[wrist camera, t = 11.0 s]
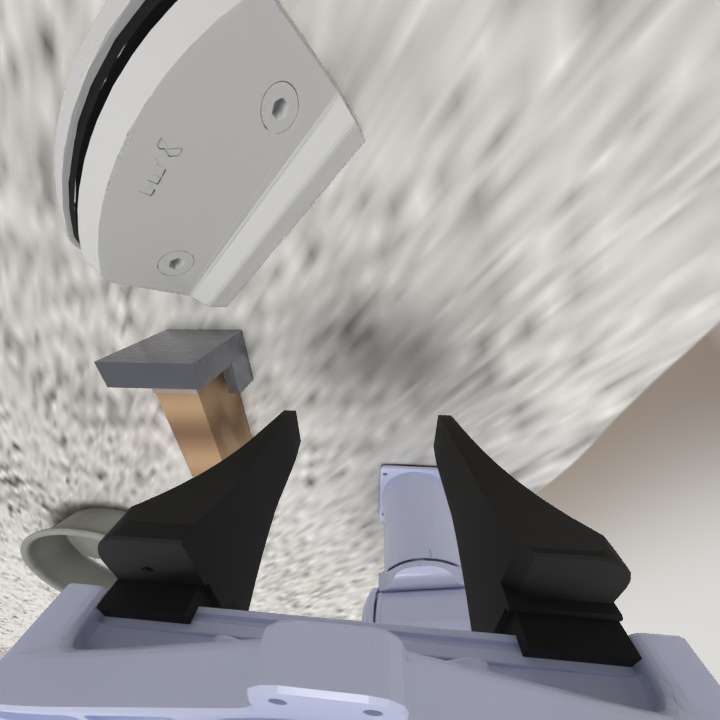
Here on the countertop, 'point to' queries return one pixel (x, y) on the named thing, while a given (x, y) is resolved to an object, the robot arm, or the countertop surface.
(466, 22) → the countertop surface
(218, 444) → the block
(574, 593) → the robot arm
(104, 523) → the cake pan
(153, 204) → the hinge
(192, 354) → the grey metal bench
